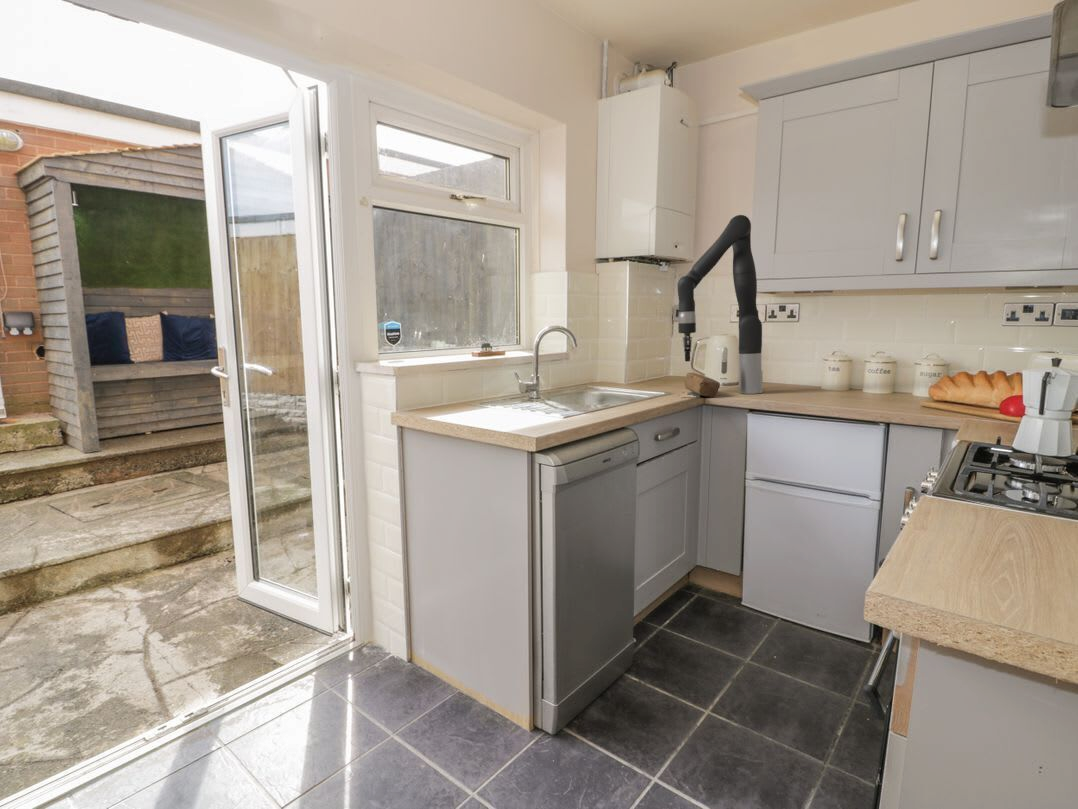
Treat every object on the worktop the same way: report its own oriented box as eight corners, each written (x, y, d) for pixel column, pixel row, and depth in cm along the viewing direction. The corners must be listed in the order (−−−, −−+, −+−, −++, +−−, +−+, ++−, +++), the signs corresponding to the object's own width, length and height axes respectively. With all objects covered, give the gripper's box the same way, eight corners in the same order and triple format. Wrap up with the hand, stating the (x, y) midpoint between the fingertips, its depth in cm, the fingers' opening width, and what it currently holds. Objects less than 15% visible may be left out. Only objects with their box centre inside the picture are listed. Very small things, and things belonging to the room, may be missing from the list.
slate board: (697, 394, 258) (697, 391, 258) (699, 397, 247) (699, 394, 246) (679, 394, 260) (679, 392, 260) (680, 397, 248) (680, 395, 248)
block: (680, 386, 263) (696, 395, 243) (685, 370, 261) (701, 377, 242) (703, 391, 264) (720, 400, 245) (708, 375, 263) (725, 383, 243)
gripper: (696, 321, 252) (697, 361, 254) (694, 321, 265) (695, 360, 267) (678, 322, 253) (679, 362, 255) (677, 322, 266) (678, 360, 268)
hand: (687, 361), depth 261 cm, fingers closed
